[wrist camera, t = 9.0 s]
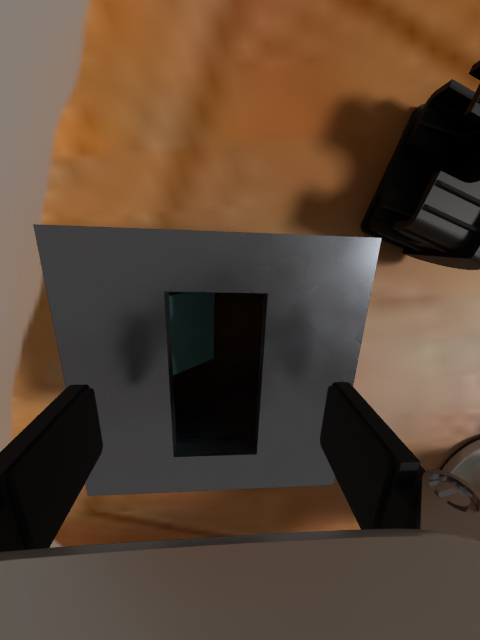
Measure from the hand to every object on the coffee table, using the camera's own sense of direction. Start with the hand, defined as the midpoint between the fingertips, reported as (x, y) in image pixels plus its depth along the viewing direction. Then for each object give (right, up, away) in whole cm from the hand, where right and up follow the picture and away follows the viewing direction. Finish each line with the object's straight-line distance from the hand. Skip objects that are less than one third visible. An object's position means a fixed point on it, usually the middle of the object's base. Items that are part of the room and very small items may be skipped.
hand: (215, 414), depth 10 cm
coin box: (-1, +4, +12) cm, 12 cm away
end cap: (+15, +14, +10) cm, 23 cm away
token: (-4, 0, +10) cm, 11 cm away
